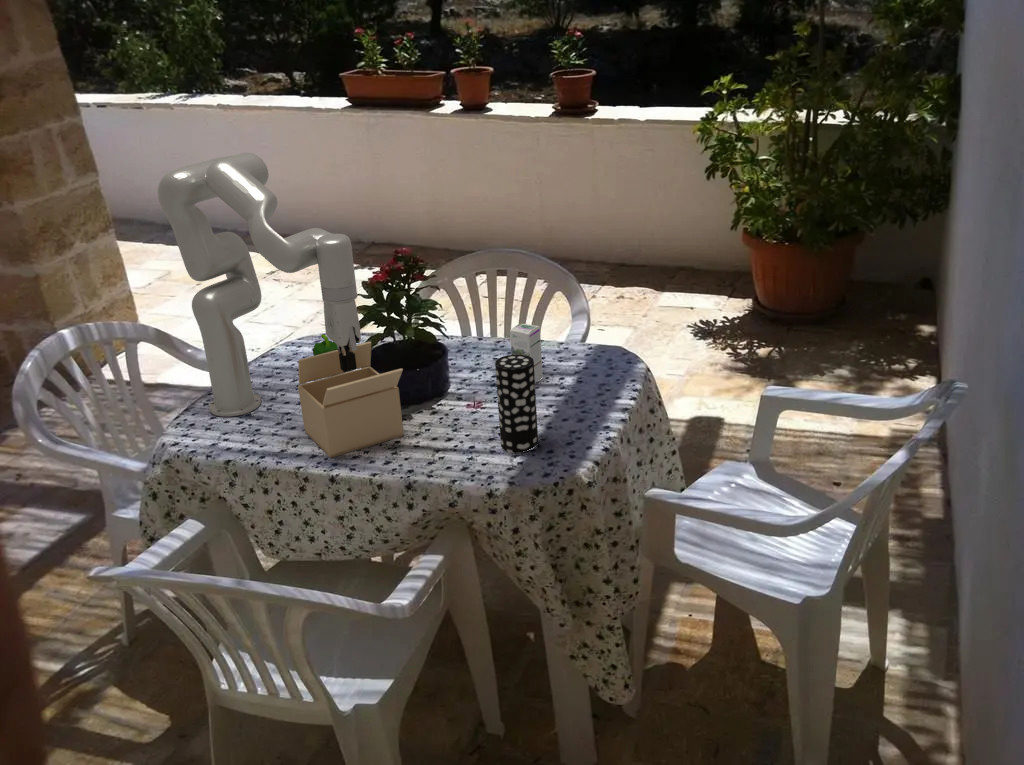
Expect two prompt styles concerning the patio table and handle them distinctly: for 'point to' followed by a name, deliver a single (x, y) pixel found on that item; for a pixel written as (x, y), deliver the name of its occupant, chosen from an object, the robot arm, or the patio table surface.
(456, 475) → the patio table surface
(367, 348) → the flap
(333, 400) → the cardboard box flap
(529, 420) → the spotted tube
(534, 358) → the syrup box
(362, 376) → the carton
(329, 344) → the bell pepper
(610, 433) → the patio table surface
